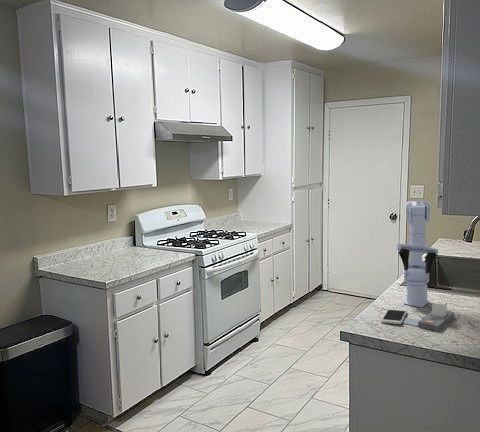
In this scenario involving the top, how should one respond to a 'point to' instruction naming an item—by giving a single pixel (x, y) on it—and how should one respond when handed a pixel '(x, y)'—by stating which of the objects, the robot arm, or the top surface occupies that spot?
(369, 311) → the top surface
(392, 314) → the smartphone
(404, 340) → the top surface
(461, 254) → the top surface
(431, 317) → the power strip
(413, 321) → the sticky note
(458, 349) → the top surface
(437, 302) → the charger plug
